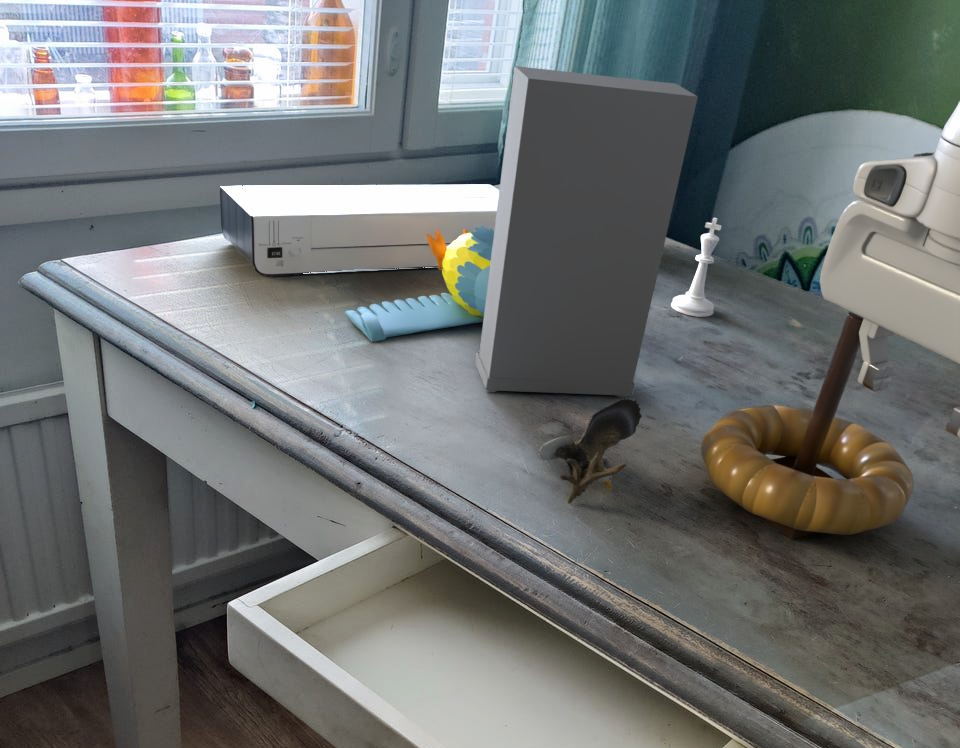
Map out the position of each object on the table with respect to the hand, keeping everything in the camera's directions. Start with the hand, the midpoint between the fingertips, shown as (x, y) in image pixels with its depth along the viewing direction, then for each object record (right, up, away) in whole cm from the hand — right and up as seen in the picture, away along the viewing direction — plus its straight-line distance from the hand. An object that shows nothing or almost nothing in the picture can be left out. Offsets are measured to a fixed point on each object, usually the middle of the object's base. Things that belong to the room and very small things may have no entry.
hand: (914, 410), depth 69 cm
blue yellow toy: (-30, +17, +34) cm, 49 cm away
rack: (-5, -5, +11) cm, 13 cm away
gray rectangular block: (-24, +8, +24) cm, 34 cm away
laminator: (-42, +29, +46) cm, 69 cm away
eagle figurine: (-22, -4, +9) cm, 24 cm away
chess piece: (-6, +22, +45) cm, 50 cm away
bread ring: (-5, -2, +9) cm, 10 cm away
